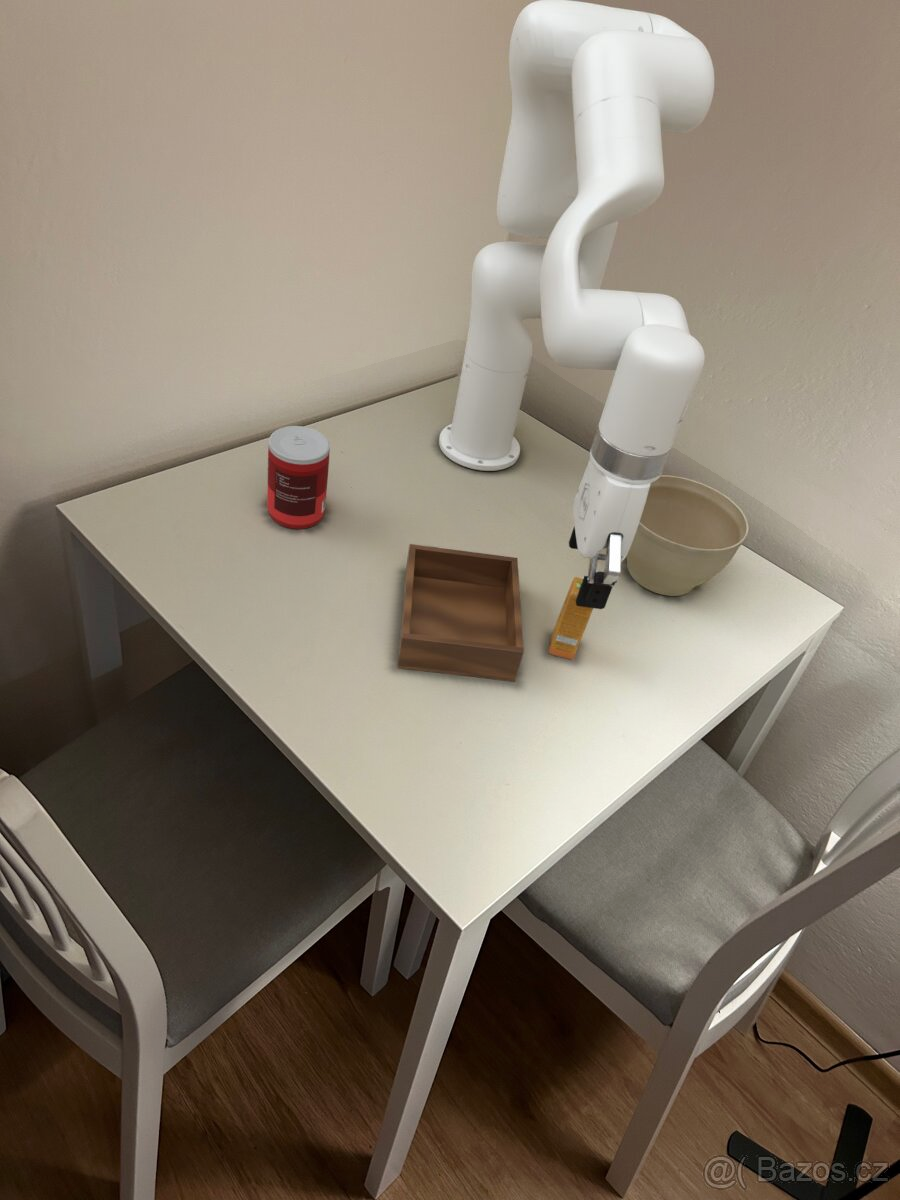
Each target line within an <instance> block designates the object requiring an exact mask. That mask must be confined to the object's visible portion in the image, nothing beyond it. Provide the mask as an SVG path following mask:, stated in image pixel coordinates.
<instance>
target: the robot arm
mask: <svg viewBox="0 0 900 1200" xmlns="http://www.w3.org/2000/svg"><path fill="white" fill-rule="evenodd" d="M510 36H511V37H510V42H509V50H508V66H509V67H508V68H509V69H508V71H509V81H510V90H511V91H510V92H511V108H512V109H511V116H510V124H509V128H508V133H507V139H506V144H505V150H504V156H503V161H502V167H501V173H500V179H499V185H498V190H497V197H496V208H495V209H496V210H495V211H496V218H497V223H498V225H499V226H500V227H501V228H502V230H504V231H505V232H507V233H509V234H512V235H515V236H520V237H521V236H522V237H528V238H537V239H546V240H547V239H548V240H547V243H539V242H527V241H526V242H525V241H498V242H497V241H496V242H493V243H490V244H487V245H486V246H484V247H483V248H481V249H480V250H479V251H478V253H477V254H476V256H475V258H474V259H473V264H472V270H471V288H470V289H471V296H470V316H469V325H468V331H467V337H466V341H465V342H466V343H465V349H464V355H463V360H462V366H461V372H460V378H459V383H458V389H457V395H456V400H455V404H454V411H453V417H452V423H450V424H448V425H447V426H445V427H444V428H443V429H442V430H441V431H440V433H439V437H438V445H439V448H440V450H441V451H442V453H443V454H444V455H445V456H446V457H447V458H448V459H449V460H451V461H452V462H454V463H455V464H458V465H460V466H462V467H464V468H468V469H471V470H476V471H483V472H496V471H501V470H504V469H507V468H510V467H511V466H513V465H514V464H516V463H517V461H518V460H519V457H520V454H521V445H520V443H519V441H518V439H517V438H516V437H515V436H514V435H515V431H516V426H517V422H518V418H519V414H520V410H521V404H522V401H523V397H524V393H525V389H526V384H527V379H528V375H529V370H530V366H531V362H532V361H531V360H532V357H533V353H534V352H533V351H534V350H533V349H534V348H533V342H532V339H531V336H530V334H529V332H528V331H527V329H526V327H525V326H524V324H523V323H522V322H523V321H524V320H528V319H529V320H530V319H533V320H534V319H541V329H542V330H541V331H542V336H543V343H544V346H545V350H546V351H547V353H548V355H549V357H550V358H551V360H552V361H553V362H554V363H556V364H558V365H559V366H562V367H563V368H568V369H578V370H599V371H600V370H604V371H615V373H614V375H613V379H612V382H611V384H610V388H609V391H608V394H607V398H606V401H605V404H604V407H603V410H602V413H601V416H600V419H599V423H598V426H597V429H596V432H595V434H594V438H593V441H592V444H591V447H590V450H589V460H588V463H587V464H586V465H587V466H586V468H585V470H584V473H583V475H582V478H581V481H580V483H579V486H578V489H577V492H576V494H575V497H574V500H573V504H572V517H573V525H574V526H573V529H572V531H571V535H570V538H569V540H568V547H569V549H573V550H577V552H578V553H579V555H580V556H581V558H583V559H589V563H588V571H587V575H584V576H583V578H582V579H583V581H582V584H581V587H580V590H579V592H578V595H577V598H576V605H577V606H580V607H588V608H593V609H596V610H603V609H605V608H606V606H607V603H608V600H609V597H610V596H611V593H612V590H613V588H614V587H615V585H616V583H617V582H618V581H617V580H618V579H619V578H620V577H621V572H622V562H624V560H625V559H626V556H627V554H628V551H629V549H630V547H631V544H632V542H633V539H634V536H635V534H636V531H637V528H638V525H639V522H640V519H641V516H642V512H643V509H644V506H645V503H646V499H647V495H648V492H649V488H650V484H651V483H652V482H654V481H656V480H658V479H659V478H660V476H661V475H663V471H664V470H665V469H664V468H665V466H666V464H667V461H668V458H669V455H671V454H670V453H671V451H672V448H673V445H674V443H675V441H676V437H677V436H678V433H679V432H680V431H679V430H680V428H681V426H682V423H683V421H684V418H685V415H686V414H687V410H688V408H689V405H690V403H691V400H692V397H693V395H694V393H695V390H696V388H697V386H698V383H699V380H700V377H701V375H702V372H703V370H704V366H705V360H706V355H705V350H704V347H703V346H702V344H701V343H700V342H699V341H698V340H697V338H695V337H694V336H693V335H692V334H691V332H690V328H689V324H688V320H687V317H686V313H685V311H684V309H683V306H682V304H681V303H680V301H678V300H677V298H675V297H674V296H673V297H672V296H671V295H668V294H663V293H656V292H641V291H639V292H638V291H630V290H629V291H628V290H618V289H617V290H616V289H603V288H602V284H603V280H604V277H605V273H606V269H607V265H608V262H609V258H610V255H611V251H612V248H613V245H614V241H615V238H616V233H617V229H618V226H619V221H622V220H625V219H628V218H630V217H633V216H634V215H635V216H636V215H638V214H639V213H641V212H643V211H644V210H646V209H647V208H649V207H650V206H652V205H653V204H654V203H656V201H657V200H658V199H659V198H660V196H661V195H662V193H663V190H664V187H665V168H664V156H663V155H664V154H663V139H662V132H665V133H673V134H674V133H675V134H686V133H690V132H692V131H693V130H696V129H697V128H698V127H699V126H700V125H701V124H702V123H703V121H704V120H705V118H706V117H707V115H708V113H709V110H710V108H711V105H712V102H713V98H714V92H715V78H716V77H715V68H714V63H713V60H712V57H711V55H710V52H709V50H708V49H707V47H706V46H705V44H704V43H703V42H702V41H701V40H700V39H699V38H698V37H696V36H695V35H693V34H692V33H691V32H689V31H687V30H686V29H684V28H683V27H682V26H680V25H679V24H677V23H676V22H675V21H673V20H672V19H670V18H668V17H665V16H664V15H660V14H657V13H651V12H647V11H640V10H633V9H626V8H621V7H620V8H619V7H612V6H607V5H602V4H597V3H591V2H585V1H579V0H536V1H533V2H531V3H529V4H527V5H526V6H525V7H523V9H522V10H521V11H520V12H519V14H518V16H517V18H516V20H515V23H514V26H513V28H512V33H511V35H510ZM601 288H602V289H601ZM603 549H606V551H605V552H606V553H600V552H601V551H602V550H603ZM598 561H605V567H604V568H603V571H597V567H598Z"/></svg>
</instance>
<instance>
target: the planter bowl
mask: <svg viewBox="0 0 900 1200" xmlns="http://www.w3.org/2000/svg"><path fill="white" fill-rule="evenodd" d="M749 528H750V527H749V521H748V518H747V516H746V515H745V513H744V512H743V510H742V509H741V508H740V506H738V504H736V502H734V501H733V499H731V498H730V497H729V496H728V495H725V494H724V493H723V492H721V491H719V490H717V489H716V488H714V487H711V486H709V485H707V484H705V483H702V482H700V481H697V480H694V479H690V478H687V477H683V476H677V475H669V474H667V475H666V474H665V475H664V474H661V476H660V478H659V479H658V480H656V481H654V482H652V483H651V484H650V488H649V492H648V495H647V499H646V503H645V506H644V509H643V512H642V516H641V519H640V522H639V525H638V528H637V531H636V534H635V536H634V539H633V542H632V544H631V547H630V549H629V551H628V554H627V556H626V557H625V559H626V560H627V561H626V567H627V570H628V573H629V575H630V576H631V578H632V579H633V580H634V581H635V582H636V583H637V584H638V585H640V586H641V587H643V588H645V589H646V590H648V591H650V592H653V593H655V594H658V595H663V596H669V597H678V596H684V595H686V594H689V593H691V592H692V591H693V590H694V589H695V587H697V586H700V585H702V584H704V583H706V582H708V581H709V580H711V579H713V577H716V576H717V575H718V574H719V573H720V572H721V571H723V570H724V569H725V567H726V566H727V565H728V564H729V563H730V562H731V561H732V559H733V558H734V557H735V556H736V553H737V551H738V550H739V548H740V547H741V546H742V544H744V542H745V541H746V538H747V537H748V535H749V530H750V529H749Z"/></svg>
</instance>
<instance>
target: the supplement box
mask: <svg viewBox="0 0 900 1200" xmlns="http://www.w3.org/2000/svg"><path fill="white" fill-rule="evenodd" d="M582 581H583V578H581V577H577V576H573V579H572V581H571V584H570V586H569V588H568V591H567V593H566V596H565V599H564V602H563V604H562V607H561V609H560V611H559V614H558V617H557V619H556V623H555V625H554V628H553V630H552V633H551V636H550V641H549V646H548V654H549V655H552V656H556V657H560V658H562V659H566V660H572V661H573V660H574V659H575V656H576V653H577V651H578V648H579V645H580V644H581V641H582V638H583V635H584V633H585V630H586V628H587V625H588V623H589V621H590V618H591V615H592V612H593V610H594V608H588V607H580V606H577V605H576V598H577V595H578V592H579V590H580V587H581V584H582Z"/></svg>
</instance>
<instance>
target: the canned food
mask: <svg viewBox="0 0 900 1200" xmlns="http://www.w3.org/2000/svg"><path fill="white" fill-rule="evenodd" d="M267 447H268V448H267V449H268V450H267V491H266V492H267V497H266V499H267V500H266V501H267V502H266V503H267V504H266V506H267V510H268V514H269V516H270V518H271V519H272V520H273V521H274V522H275V523H277V524H279V525H280V526H283V527H286V528H288V529H289V528H290V529H293V530H294V529H295V530H302V529H309V528H311V527H314V526H316V525H318V524H319V523H320V522H321V521H322V519H323V517H324V515H325V512H326V504H327V494H328V493H327V491H328V480H329V479H328V478H329V468H330V467H329V465H330V451H331V450H330V449H331V448H330V447H331V446H330V441H329V439H328V438H327V436H326V435H325V434H324V433H322V432H320V431H319V430H316V429H314V428H311V427H308V426H304V425H303V426H302V425H290V426H289V425H288V426H283V427H280V428H278V429H276V430H275V431H273V432H272V433H271V434H270V436H269V439H268V446H267Z"/></svg>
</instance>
